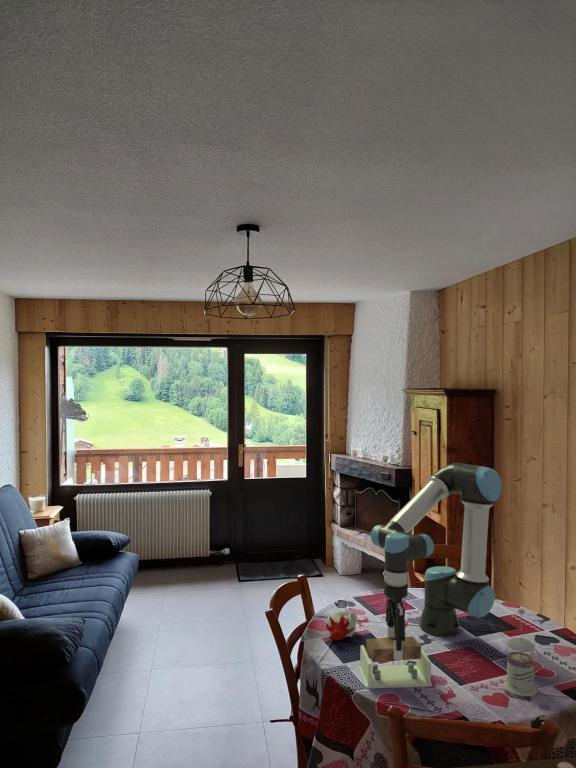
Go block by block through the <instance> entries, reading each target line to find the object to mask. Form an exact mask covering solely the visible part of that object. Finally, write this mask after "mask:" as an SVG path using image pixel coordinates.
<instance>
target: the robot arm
mask: <svg viewBox="0 0 576 768" xmlns="http://www.w3.org/2000/svg"><path fill="white" fill-rule="evenodd" d="M502 488H503V486H502V480H501V477H500V474H498V472H497V471H496V470H495V469H493V468H491V467H486V466H481V465H475V464H468V463H467V464H465V463H463V462H462V463H461V462H455V463H451V464H448V465H445V466H444V467H442V468H440V469H438V470H437V471H436V472H434V473H433V474H432V475H431V476H430V477H428V478H427V480H426V483H425V485H424V486H423V487H422V488H421V489H420V490H419V491H418V492H417V493H416V494H415V495H414V496H413V497H412V498H411V499H410V500H409V501H408V502H407V503H406V504H405V505H404V506H403V507H402V508H401V509H400V510H399V511H398V512H397V513H396V514H395V515H394V516H393V517H392V518H391V519H390V520H389V521H388V522H387V523H386V524H385V525H383V524H377V525H375V526H374V527H373V528H372V529H371V532H370V540H371V542H372V544H373V545H375V546H376V547H378V548H381V549H382V550H384V572H382V575H383V576H384V583H383V594H384V595H385V596H386V605H385V606H386V608H385V610H386V611H385V622H386V626H387V629H386V631H387V633H386V636H387V637H386V638H393V640H394V652H393V659H394V660H397V661H403V660H402V653H403V641H405V637H406V621H405V620H406V616H405V615H406V609H405V608H404V602H403V599H404V598H406V597H407V596H408V593H409V592H408V591H409V589H408V585H409V584H408V583H409V563H410V562H414V561H417V560H422V559H425V558H427V557H429V556H431V555H432V554H433V553H434V550H435V547H434V541H433V540H432V539H433V538H431V536H429V535H428V534H425V533H419V534H417V535H415V534H411V533H410V532H411V531H412V530H413V529H414V528H415V527H416V526H417V525H418V524H419V523H420V522H421V521H422V520H423V519H424V518H425V517H426V515H427V514H428V513H429V512H430V511H431V510H432V509H433V508H434V507H436V505H437V504H438V503H439V502H440V501H441V500H442V499H446V498H448V496H450V495H453V494H457V495H460V502H461V503H462V504H463V505H464V509H463V511H464V513H463V526H462V527H463V528H462V529H463V530H462V543H461V559H460V560H461V561H460V569H459V571H457V570H456V568H454V567H451V566H446V565H445V566H443V565H442V566H441V565H440V566H439V565H438V566H432V567H428V568H427V569H426V570H425V572H424V606H423V608H422V611H421V614H420V618H419V627H420V629H421V630H422V631H424V632H426V634H427V633H428V634H430V635H433V636H437V637H438V636H439V637H452V636H456V635H458V634H459V633H460V630H461V627H460V626H461V624H460V620H459V618H458V613H457V610H459V611H461V612H463V613H466V614H468V615H469V616H474V617H477V618H483V617H485V616H487V615H488V614H489V612H490V611H491V609H493V606H494V604H495V600H496V592H495V589H494V588H493V587H492V586H491V585H490V583H489V582H490V578H489V577H488V575H486V564H487V547H488V546H487V545H488V544H487V543H488V530H489V529H488V528H489V514H490V508H492V507H493V506H494V503H495V501H498V500H499V499H500V495H501V493H502ZM394 637H395V638H394Z"/></svg>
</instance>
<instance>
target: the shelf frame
mask: <svg viewBox="0 0 576 768" xmlns="http://www.w3.org/2000/svg"><path fill="white" fill-rule="evenodd" d="M359 651H360V657H359V659H360V660H359V661H360V662H359V666H358V669H359V672H360V676H361V677H362V680H363V683H364V685H365V688H366V689H385V688H386V689H389V688H390V689H392V688H395V689H396V688H419V687H420V688H422V687H423V688H426V687H429V688H430V687H433V684H432V678H431V677H432V661H431V660H430V659H429V657H428V655H427V654H426V652H425V651H424V650H423V647H421V659H415V664H414V663H412V662H409V663H408V664H396V665H394V664H392V665H378V663H377V664H376V663H373V664H372V661H371V658H370V657H369V655H368V653H367V652H366V647H365V646H364V645H360V650H359Z"/></svg>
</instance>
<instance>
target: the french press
mask: <svg viewBox="0 0 576 768" xmlns="http://www.w3.org/2000/svg"><path fill="white" fill-rule="evenodd" d="M517 612H518V613H519V614H520V631H522V625H523V624H522V623H523V622H522V621H523V620H522V619H523V618H522V615H523V614H525V610H524V609H523V608H519V609H518V610H517ZM506 644H507V645H508V647H509V648H510V649H512V650H515V651H511V652H509V653H508V655H507V662H506V663H507V664H506V667H507V668H506V680H505V681H504V682H503V688H504V689H505V690H507V692H509V693H511V694H513V695H516V696H520V697H525V696H527V697H528V696H529V697H532V696H531V695H534V694H535V693H536V690H537V688H536V687H535V686H534V683H535V682H534V677H535V674H536V673H537V672H539V671H540V670H541V669H542V665H543V656H542V654H541V652H539V650H537V649H536V646H535V645H534V643H533V642H531V641H530V640H528V639H526V638H523V637H513V638H510V639H507V641H506ZM530 652H531V654H532V655H533V654H535V652H536V653H537V655H538V657H540V658H541V660H540V659H538V661H537V664H536V666H535V665H534V663H533V661H534V659H533V657H532V656H531V655H530V654H527V653H530ZM540 661H541V663H540ZM539 663H540V666H539ZM538 666H539V667H538ZM537 667H538V669H537ZM535 669H537V670H535ZM536 694H537V693H536ZM536 694H535V695H536ZM535 695H534V696H535Z"/></svg>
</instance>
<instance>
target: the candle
mask: <svg viewBox="0 0 576 768" xmlns="http://www.w3.org/2000/svg"><path fill="white" fill-rule="evenodd" d="M357 618H358V616H357V614H356V613H355V612H354V611H351V610H348V611H346V610H337V611H334V612H333V613H331V614H330V615H328V617H327V619H326V623H325V629H327V632H328V633H329V635H330V637H331V638H332V639H333V640H334V641H340V640H343V639H346V638H347V637H349V638H352V637H353V636H354V633H355V631H356V626H357V621H358V619H357Z"/></svg>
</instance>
